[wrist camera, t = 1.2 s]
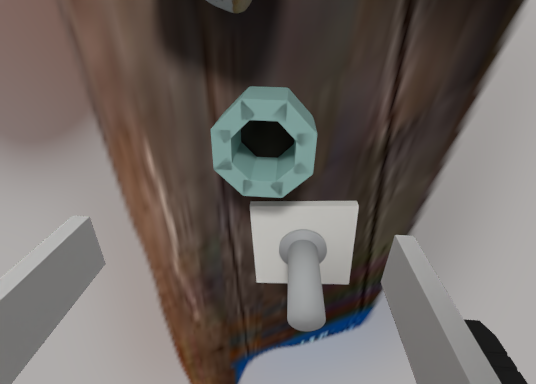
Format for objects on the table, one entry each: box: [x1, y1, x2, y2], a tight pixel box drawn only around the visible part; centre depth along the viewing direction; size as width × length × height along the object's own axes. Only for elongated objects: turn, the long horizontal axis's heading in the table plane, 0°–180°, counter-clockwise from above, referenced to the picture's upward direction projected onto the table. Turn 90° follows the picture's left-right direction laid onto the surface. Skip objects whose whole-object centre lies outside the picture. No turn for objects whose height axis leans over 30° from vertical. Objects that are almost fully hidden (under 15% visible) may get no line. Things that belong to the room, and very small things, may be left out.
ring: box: [211, 86, 317, 198], centre depth 25 cm, size 8×8×5 cm
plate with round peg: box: [250, 201, 359, 331], centre depth 29 cm, size 11×11×10 cm
